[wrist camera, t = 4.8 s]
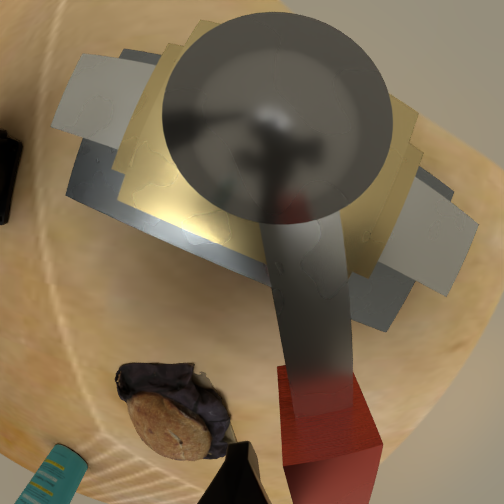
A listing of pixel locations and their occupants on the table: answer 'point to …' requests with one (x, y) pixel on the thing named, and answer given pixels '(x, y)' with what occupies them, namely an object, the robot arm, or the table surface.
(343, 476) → the valve lever
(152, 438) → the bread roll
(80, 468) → the tube
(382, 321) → the valve stand
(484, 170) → the table surface
